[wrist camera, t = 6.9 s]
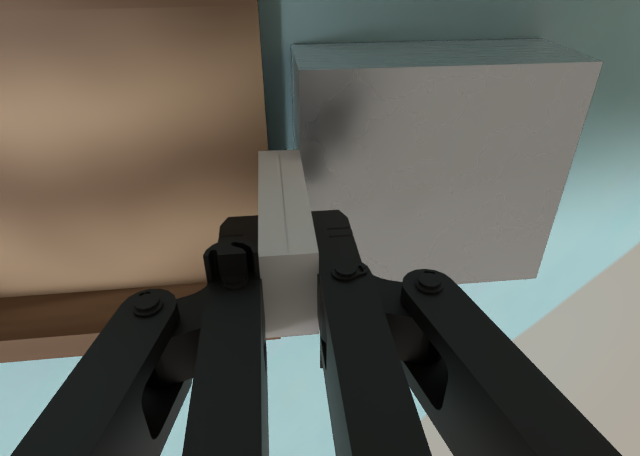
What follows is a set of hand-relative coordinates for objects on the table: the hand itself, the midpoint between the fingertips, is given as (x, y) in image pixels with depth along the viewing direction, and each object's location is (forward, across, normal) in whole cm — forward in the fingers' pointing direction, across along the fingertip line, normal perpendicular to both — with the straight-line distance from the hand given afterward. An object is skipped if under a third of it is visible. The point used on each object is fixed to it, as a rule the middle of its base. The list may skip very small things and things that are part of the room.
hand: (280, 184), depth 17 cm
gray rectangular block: (+3, +6, 0) cm, 6 cm away
